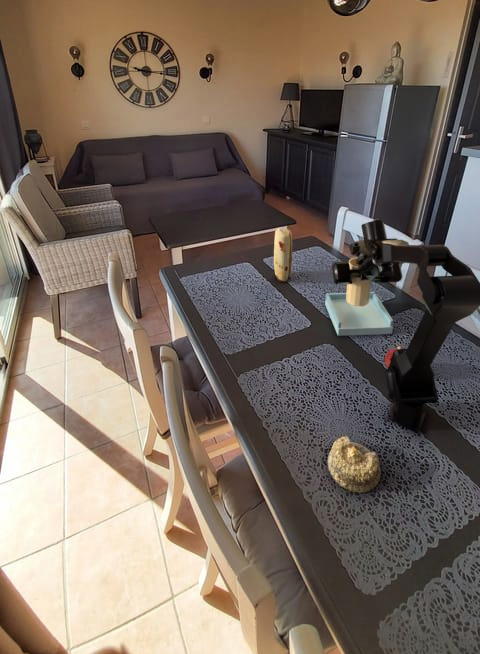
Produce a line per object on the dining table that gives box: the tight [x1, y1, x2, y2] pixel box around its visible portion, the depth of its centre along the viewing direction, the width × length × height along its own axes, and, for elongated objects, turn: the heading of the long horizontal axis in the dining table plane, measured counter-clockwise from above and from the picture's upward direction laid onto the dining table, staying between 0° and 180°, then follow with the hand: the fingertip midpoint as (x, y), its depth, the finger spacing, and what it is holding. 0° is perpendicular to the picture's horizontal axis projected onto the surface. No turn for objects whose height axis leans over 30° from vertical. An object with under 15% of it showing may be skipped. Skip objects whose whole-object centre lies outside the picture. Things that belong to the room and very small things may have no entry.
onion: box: [384, 345, 403, 369], centre depth 91 cm, size 6×6×8 cm
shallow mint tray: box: [324, 291, 394, 337], centre depth 113 cm, size 16×16×4 cm
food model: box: [273, 227, 293, 283], centre depth 134 cm, size 10×7×20 cm
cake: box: [327, 435, 382, 494], centre depth 69 cm, size 10×10×5 cm
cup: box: [345, 257, 372, 306], centre depth 108 cm, size 7×7×13 cm
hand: (357, 279), depth 110 cm, fingers closed on cup, 7 cm apart
